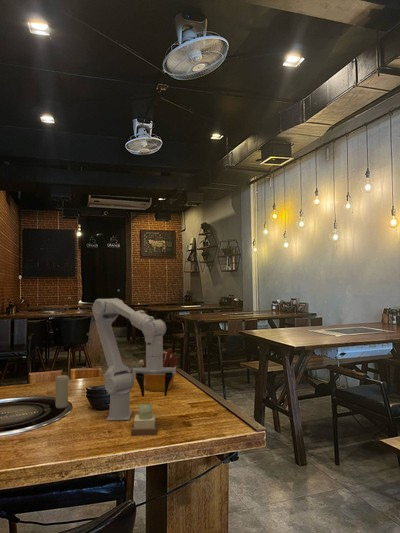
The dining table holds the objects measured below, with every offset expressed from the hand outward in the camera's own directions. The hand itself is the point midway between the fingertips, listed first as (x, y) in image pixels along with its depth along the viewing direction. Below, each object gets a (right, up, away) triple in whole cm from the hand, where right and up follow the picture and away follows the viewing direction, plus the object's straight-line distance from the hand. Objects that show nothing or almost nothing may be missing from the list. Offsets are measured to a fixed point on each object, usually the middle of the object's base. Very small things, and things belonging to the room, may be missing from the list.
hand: (154, 395), depth 135 cm
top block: (-3, -8, -4) cm, 10 cm away
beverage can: (-40, -12, +23) cm, 48 cm away
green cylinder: (-3, -6, -4) cm, 8 cm away
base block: (-3, -11, -5) cm, 12 cm away
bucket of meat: (-3, -14, +50) cm, 52 cm away
